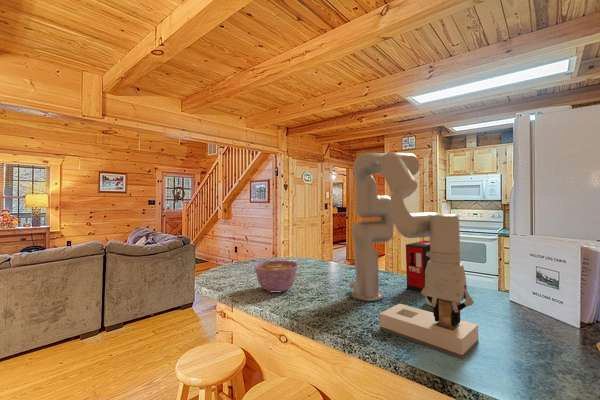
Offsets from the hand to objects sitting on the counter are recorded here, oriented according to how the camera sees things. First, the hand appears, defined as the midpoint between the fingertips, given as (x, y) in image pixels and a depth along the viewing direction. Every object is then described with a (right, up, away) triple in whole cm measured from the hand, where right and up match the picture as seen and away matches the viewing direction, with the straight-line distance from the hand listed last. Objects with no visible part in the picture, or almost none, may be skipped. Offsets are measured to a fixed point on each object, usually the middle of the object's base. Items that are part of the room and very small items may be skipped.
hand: (446, 321), depth 83 cm
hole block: (-4, -6, +4) cm, 8 cm away
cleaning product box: (+16, -5, +50) cm, 53 cm away
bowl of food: (-52, -7, +53) cm, 74 cm away
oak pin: (0, -3, 0) cm, 3 cm away
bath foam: (+10, -6, +29) cm, 31 cm away
